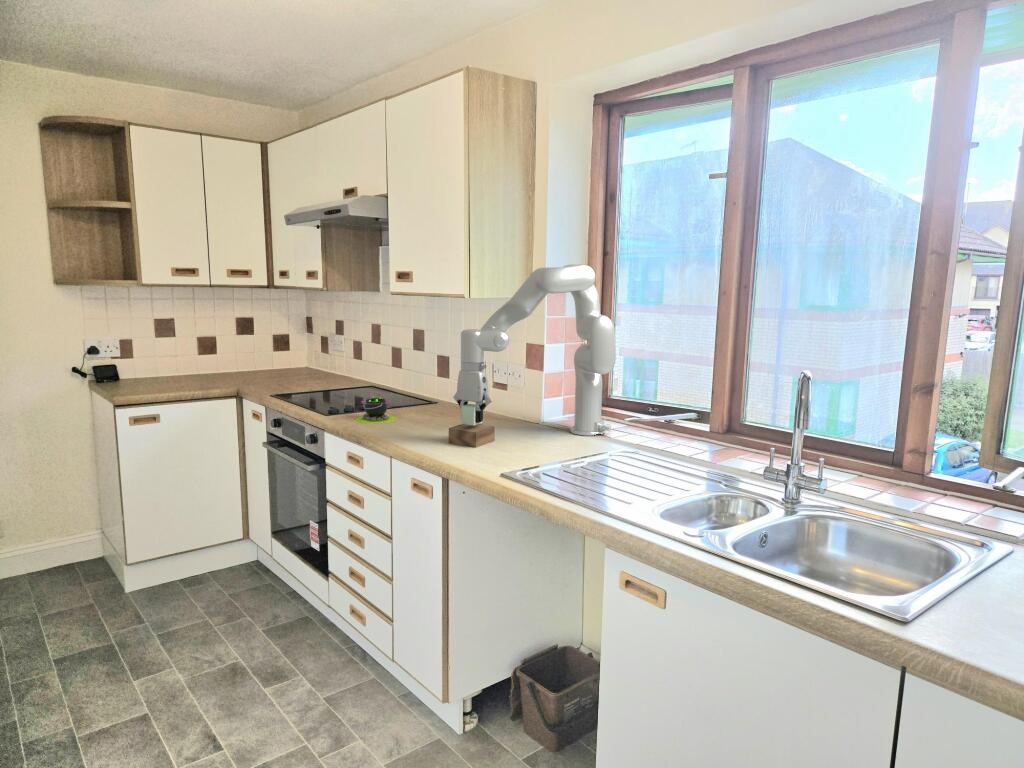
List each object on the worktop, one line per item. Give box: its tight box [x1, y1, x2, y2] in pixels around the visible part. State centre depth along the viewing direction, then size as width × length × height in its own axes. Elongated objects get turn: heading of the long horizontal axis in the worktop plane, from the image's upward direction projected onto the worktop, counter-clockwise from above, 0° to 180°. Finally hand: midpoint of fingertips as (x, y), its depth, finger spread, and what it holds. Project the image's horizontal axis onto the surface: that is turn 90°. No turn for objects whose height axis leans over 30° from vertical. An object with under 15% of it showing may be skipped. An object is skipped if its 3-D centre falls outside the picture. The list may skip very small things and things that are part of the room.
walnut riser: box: [448, 423, 496, 448], centre depth 223 cm, size 11×11×5 cm
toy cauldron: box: [356, 394, 397, 424], centre depth 255 cm, size 15×15×11 cm
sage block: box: [461, 403, 483, 425], centre depth 222 cm, size 5×5×6 cm
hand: (472, 420), depth 222 cm, fingers closed on sage block, 5 cm apart
